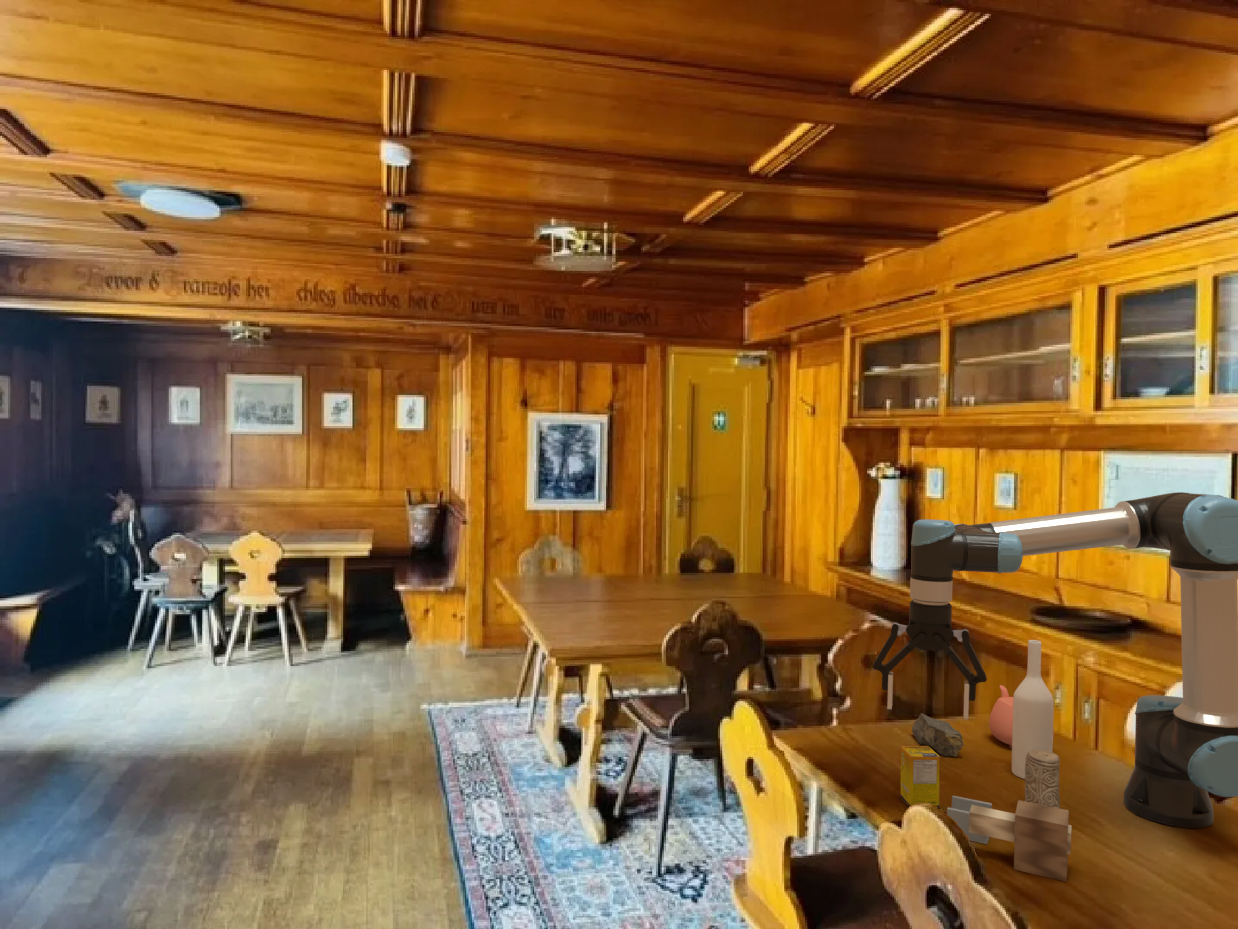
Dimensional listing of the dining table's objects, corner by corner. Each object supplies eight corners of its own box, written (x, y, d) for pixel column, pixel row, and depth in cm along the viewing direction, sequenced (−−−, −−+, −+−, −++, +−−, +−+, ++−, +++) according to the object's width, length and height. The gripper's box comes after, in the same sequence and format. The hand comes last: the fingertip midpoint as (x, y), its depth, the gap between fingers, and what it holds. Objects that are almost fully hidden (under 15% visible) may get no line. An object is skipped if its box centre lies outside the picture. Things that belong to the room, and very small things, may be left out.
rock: (981, 739, 196) (946, 731, 194) (973, 766, 196) (938, 759, 194) (935, 713, 213) (902, 706, 210) (928, 739, 213) (895, 732, 210)
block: (1067, 863, 147) (1068, 810, 146) (1066, 881, 140) (1067, 826, 140) (1017, 852, 150) (1018, 800, 150) (1013, 869, 144) (1015, 815, 144)
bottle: (1013, 779, 184) (1017, 643, 183) (1009, 765, 192) (1012, 635, 191) (1054, 784, 181) (1058, 646, 181) (1048, 770, 189) (1051, 638, 188)
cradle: (991, 829, 159) (991, 803, 159) (987, 844, 153) (987, 817, 153) (952, 820, 163) (952, 795, 163) (946, 835, 157) (947, 809, 157)
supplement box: (927, 797, 174) (928, 745, 174) (939, 810, 168) (940, 756, 168) (899, 797, 174) (900, 745, 173) (910, 810, 168) (911, 756, 167)
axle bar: (1070, 846, 145) (1071, 825, 145) (1070, 854, 142) (1071, 833, 142) (971, 824, 153) (971, 804, 153) (968, 832, 149) (969, 812, 149)
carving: (1060, 810, 168) (1062, 751, 168) (1058, 824, 162) (1060, 763, 162) (1025, 803, 172) (1027, 745, 171) (1022, 816, 165) (1023, 756, 165)
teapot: (1024, 729, 217) (1025, 682, 217) (1068, 758, 197) (1069, 706, 197) (973, 729, 217) (974, 682, 216) (1012, 758, 197) (1013, 706, 196)
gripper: (1001, 603, 158) (997, 715, 158) (864, 592, 167) (861, 698, 167) (1004, 610, 151) (1000, 727, 151) (860, 598, 160) (857, 708, 160)
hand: (927, 712), depth 159 cm, fingers open, 13 cm apart
